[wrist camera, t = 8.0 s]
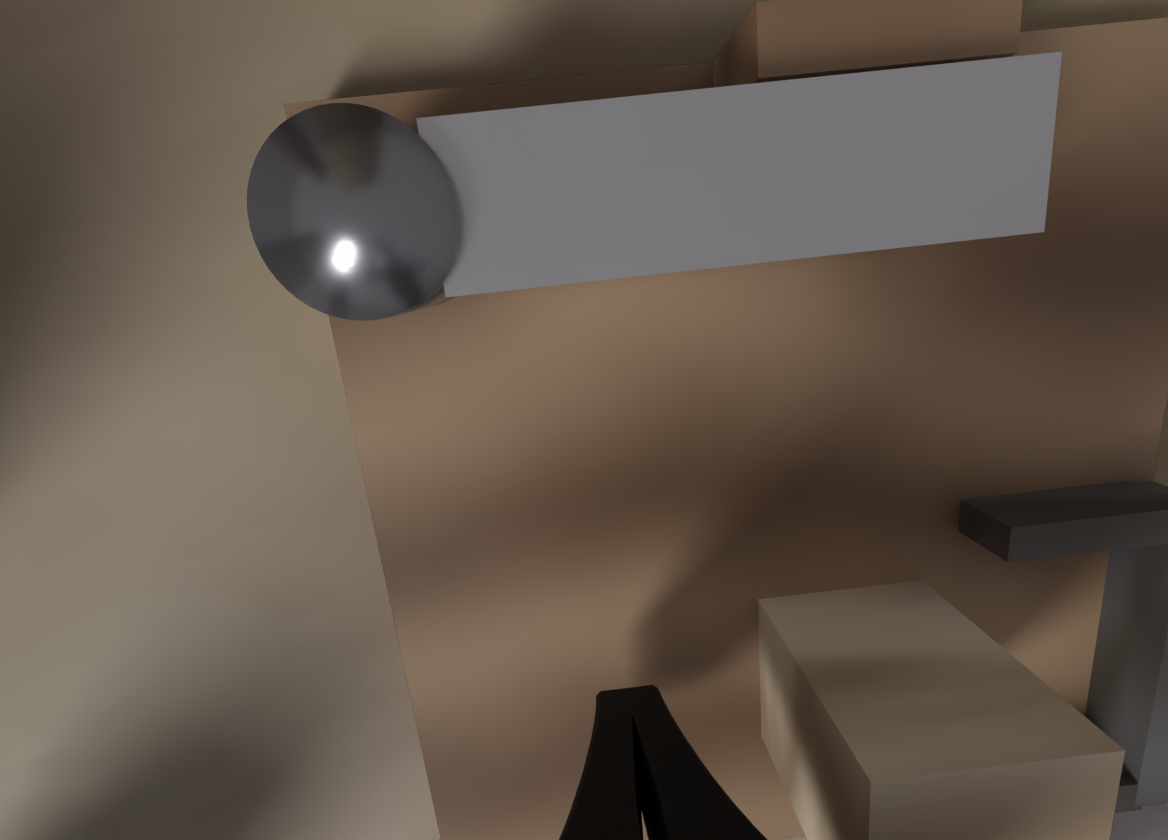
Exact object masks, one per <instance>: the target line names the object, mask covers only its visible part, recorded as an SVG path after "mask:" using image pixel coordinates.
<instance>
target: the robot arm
mask: <svg viewBox="0 0 1168 840" xmlns="http://www.w3.org/2000/svg"><path fill="white" fill-rule="evenodd" d="M641 810H642V811H641ZM642 815H643V819H644V823H645V827H646V832H647V836H648V840H767V839H766V837H765V836H764V835H763V834H762V833H761V832H760V831H759V830H758V829H757V828H756V827H755V826H754V825H753V824H752V823H751V821H750V820H749V819H748V818H747V817H746V816H745V815H744V814H743V813H742V812H741V810H740V809H739V808H738V807H737V806H736V805H735V803H734V802H733V801H732V800H731V799H730V797H729V796H728V795H727V794H726V792H725V791H724V790H723V789H722V787H721V786H720V785H719V784H718V782H717V781H716V780H715V778H714V777H713V776H712V775H711V773H710V772H709V771H708V769H707V768H706V767H705V765H704V764H703V762H702V761H701V760H700V758H699V757H698V755H697V754H696V752H695V751H694V749H693V748H692V747H691V745H690V744H689V742H688V741H687V739H686V738H685V736H684V735H683V733H682V731H681V730H680V728H679V727H678V725H677V723H676V722H675V720H674V718H673V717H672V715H671V713H670V711H669V710H668V708H667V706H666V704H665V702H664V700H663V698H662V696H661V694H660V691H659V689H658V688H657V687H656V686H654V685H646V686H638V687H630V688H622V689H614V690H606V691H600V692H599V693H598V694H597V695H596V711H595V719H594V726H593V731H592V736H591V741H590V745H589V749H588V753H587V757H586V761H585V765H584V769H583V773H582V776H581V779H580V782H579V785H578V788H577V792H576V795H575V798H574V801H573V804H572V807H571V810H570V813H569V815H568V818H567V821H566V823H565V826H564V828H563V831H562V834H561V836H560V838H559V840H643V826H642Z"/></svg>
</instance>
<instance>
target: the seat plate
mask: <svg viewBox="0 0 1168 840" xmlns="http://www.w3.org/2000/svg"><path fill="white" fill-rule="evenodd" d="M1022 6H1023V0H769V1H759V2H756V3H755V5H754V6H753V8H752V9H751V10H750V12H749V13H748V14H747V16H746V17H745V18H744V20H743V21H742V23H741V24H740V25H739V27H738V28H737V29H736V31H735V32H734V34H733V35H732V36H731V38H730V39H729V40H728V42H727V43H726V44H725V46H724V47H723V49H722V50H721V51H720V53H719V54H718V55H717V57H716V58H715V60H714V61H713V62H707V63H697V64H686V65H676V66H666V67H656V68H645V69H635V70H625V71H615V72H605V73H594V74H584V75H574V76H564V77H553V78H543V79H533V80H523V81H513V82H502V83H492V84H482V85H472V86H461V87H451V88H441V89H431V90H420V91H410V92H400V93H390V94H380V95H369V96H359V97H349V98H339V99H328V100H318V101H308V102H298V103H288V104H284V108H285V113H286V117H287V119H289V118H290V117H291V116H293V115H295V114H297V113H299V112H301V111H303V110H305V109H308V108H311V107H314V106H318V105H323V104H329V103H353V104H360V105H364V106H368V107H372V108H375V109H378V110H380V111H383V112H385V113H388V114H390V115H391V116H393V117H395V118H397V119H399V120H400V121H402V122H403V123H404V124H406V125H407V126H409V127H410V128H411V129H413V130H414V131H415V132H416V133H417V134H418V135H419V132H418V126H417V119H416V118H424V117H434V116H443V115H453V114H463V113H472V112H482V111H492V110H502V109H511V108H521V107H531V106H540V105H550V104H560V103H569V102H579V101H589V100H598V99H608V98H618V97H627V96H637V95H647V94H656V93H666V92H676V91H686V90H695V89H705V88H715V87H724V86H734V85H744V84H753V83H763V82H773V81H782V80H792V79H802V78H811V77H821V76H831V75H840V74H850V73H860V72H870V71H879V70H889V69H899V68H908V67H918V66H928V65H937V64H947V63H957V62H966V61H976V60H986V59H995V58H1005V57H1015V56H1025V55H1034V54H1044V53H1054V52H1062V57H1061V68H1060V78H1059V88H1058V98H1057V108H1056V118H1055V129H1054V139H1053V149H1052V159H1051V169H1050V179H1049V190H1048V200H1047V210H1046V220H1045V230H1044V232H1040V233H1031V234H1022V235H1012V236H1003V237H994V238H985V239H976V240H967V241H958V242H948V243H939V244H930V245H921V246H912V247H903V248H893V249H884V250H875V251H866V252H857V253H848V254H839V255H829V256H820V257H811V258H802V259H793V260H784V261H774V262H765V263H756V264H747V265H738V266H729V267H719V268H710V269H701V270H692V271H683V272H674V273H665V274H655V275H646V276H637V277H628V278H619V279H610V280H600V281H591V282H582V283H573V284H564V285H555V286H546V287H536V288H527V289H518V290H509V291H500V292H491V293H481V294H472V295H463V296H456V297H455V298H453V299H451V300H449V301H447V302H445V303H442V304H439V305H436V306H432V307H428V308H424V309H420V310H416V311H412V312H408V313H404V314H400V315H396V316H392V317H388V318H383V319H378V320H366V321H359V320H348V319H343V318H338V317H334V316H331V315H329V318H330V323H331V328H332V332H333V337H334V342H335V346H336V351H337V356H338V361H339V365H340V370H341V375H342V379H343V384H344V389H345V393H346V398H347V403H348V407H349V412H350V417H351V421H352V426H353V431H354V435H355V440H356V445H357V449H358V454H359V459H360V463H361V468H362V473H363V477H364V482H365V487H366V491H367V496H368V501H369V506H370V510H371V515H372V520H373V524H374V529H375V534H376V538H377V543H378V548H379V552H380V557H381V562H382V566H383V571H384V576H385V580H386V585H387V590H388V594H389V599H390V604H391V608H392V613H393V618H394V622H395V627H396V632H397V637H398V641H399V646H400V651H401V655H402V660H403V665H404V669H405V674H406V679H407V683H408V688H409V693H410V697H411V702H412V707H413V711H414V716H415V721H416V725H417V730H418V735H419V739H420V744H421V749H422V753H423V758H424V763H425V768H426V772H427V777H428V782H429V786H430V791H431V796H432V800H433V805H434V810H435V814H436V819H437V824H438V828H439V833H440V838H441V840H559V838H560V836H561V834H562V831H563V828H564V826H565V823H566V821H567V818H568V815H569V813H570V810H571V807H572V804H573V801H574V798H575V795H576V792H577V788H578V785H579V782H580V779H581V776H582V773H583V769H584V765H585V761H586V757H587V753H588V749H589V745H590V741H591V736H592V731H593V726H594V719H595V711H596V695H597V694H598V693H599V692H600V691H606V690H614V689H622V688H630V687H638V686H646V685H654V686H656V687H657V688H658V689H659V691H660V694H661V696H662V698H663V700H664V702H665V704H666V706H667V708H668V710H669V711H670V713H671V715H672V717H673V718H674V720H675V722H676V723H677V725H678V727H679V728H680V730H681V731H682V733H683V735H684V736H685V738H686V739H687V741H688V742H689V744H690V745H691V747H692V748H693V749H694V751H695V752H696V754H697V755H698V757H699V758H700V760H701V761H702V762H703V764H704V765H705V767H706V768H707V769H708V771H709V772H710V773H711V775H712V776H713V777H714V778H715V780H716V781H717V782H718V784H719V785H720V786H721V787H722V789H723V790H724V791H725V792H726V794H727V795H728V796H729V797H730V799H731V800H732V801H733V802H734V803H735V805H736V806H737V807H738V808H739V809H740V810H741V812H742V813H743V814H744V815H745V816H746V817H747V818H748V819H749V820H750V821H751V823H752V824H753V825H754V826H755V827H756V828H757V829H758V830H759V831H760V832H761V833H762V834H763V835H764V836H765V837H766V839H767V840H779V839H787V838H795V837H803V836H805V834H804V831H803V829H802V827H801V825H800V822H799V820H798V818H797V816H796V813H795V811H794V809H793V807H792V804H791V802H790V800H789V797H788V795H787V793H786V791H785V788H784V786H783V784H782V782H781V779H780V777H779V775H778V773H777V770H776V768H775V766H774V764H773V761H772V759H771V757H770V755H769V752H768V750H767V748H766V746H765V743H764V741H763V739H762V737H761V698H760V658H759V619H758V599H766V598H775V597H783V596H792V595H800V594H809V593H818V592H826V591H835V590H843V589H852V588H860V587H869V586H878V585H886V584H895V583H903V582H912V581H920V580H922V581H924V582H925V583H926V584H927V585H928V586H930V587H931V588H932V589H933V590H934V591H936V592H937V593H938V594H939V595H940V596H942V597H943V598H944V599H945V600H946V601H948V602H949V603H950V604H951V605H952V606H953V607H955V608H956V609H957V610H958V611H959V612H961V613H962V614H963V615H964V616H965V617H967V618H968V619H969V620H970V621H971V622H973V623H974V624H975V625H976V626H977V627H979V628H980V629H981V630H982V631H983V632H985V633H986V634H987V635H988V636H989V637H991V638H992V639H993V640H994V641H995V642H997V643H998V644H999V645H1000V646H1001V647H1002V648H1004V649H1005V650H1006V651H1007V652H1008V653H1010V654H1011V655H1012V656H1013V657H1014V658H1016V659H1017V660H1018V661H1019V662H1020V663H1022V664H1023V665H1024V666H1025V667H1026V668H1028V669H1029V670H1030V671H1031V672H1032V673H1034V674H1035V675H1036V676H1037V677H1038V678H1040V679H1041V680H1042V681H1043V682H1044V683H1046V684H1047V685H1048V686H1049V687H1050V688H1051V689H1053V690H1054V691H1055V692H1056V693H1057V694H1059V695H1060V696H1061V697H1062V698H1063V699H1065V700H1066V701H1067V702H1068V703H1069V704H1071V705H1072V706H1073V707H1074V708H1075V709H1077V710H1078V711H1079V712H1080V713H1081V714H1083V715H1084V716H1085V717H1086V718H1087V719H1089V720H1090V721H1091V722H1092V723H1093V724H1095V725H1096V726H1097V727H1098V728H1099V729H1100V730H1102V731H1103V732H1104V733H1105V734H1106V735H1108V736H1109V737H1110V738H1111V739H1112V740H1114V741H1115V742H1116V743H1117V744H1118V745H1120V746H1121V747H1122V748H1123V749H1124V750H1125V755H1124V761H1123V766H1122V772H1121V778H1120V783H1119V789H1118V795H1117V800H1116V806H1115V812H1114V813H1116V812H1124V811H1132V810H1140V809H1142V806H1146V805H1154V804H1162V803H1166V802H1167V797H1168V487H1167V486H1164V485H1161V484H1159V483H1156V482H1153V479H1154V473H1155V467H1156V461H1157V455H1158V449H1159V443H1160V437H1161V431H1162V425H1163V419H1164V413H1165V407H1166V401H1167V395H1168V17H1167V18H1157V19H1147V20H1136V21H1126V22H1116V23H1106V24H1096V25H1085V26H1075V27H1065V28H1055V29H1044V30H1034V31H1024V32H1020V30H1021V18H1022ZM641 811H642V810H641ZM642 826H643V840H648V836H647V832H646V827H645V823H644V819H643V815H642Z"/></svg>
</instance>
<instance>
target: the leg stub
mask: <svg viewBox="0 0 1168 840" xmlns="http://www.w3.org/2000/svg"><path fill="white" fill-rule="evenodd" d="M758 619H759V658H760V698H761V737H762V739H763V741H764V743H765V746H766V748H767V750H768V752H769V755H770V757H771V759H772V761H773V764H774V766H775V768H776V770H777V773H778V775H779V777H780V779H781V782H782V784H783V786H784V788H785V791H786V793H787V795H788V797H789V800H790V802H791V804H792V807H793V809H794V811H795V813H796V816H797V818H798V820H799V822H800V825H801V827H802V829H803V831H804V834H805V836H806V838H807V840H1110V834H1111V829H1112V823H1113V817H1114V812H1115V806H1116V800H1117V795H1118V789H1119V783H1120V778H1121V772H1122V766H1123V761H1124V755H1125V750H1124V749H1123V748H1122V747H1121V746H1120V745H1118V744H1117V743H1116V742H1115V741H1114V740H1112V739H1111V738H1110V737H1109V736H1108V735H1106V734H1105V733H1104V732H1103V731H1102V730H1100V729H1099V728H1098V727H1097V726H1096V725H1095V724H1093V723H1092V722H1091V721H1090V720H1089V719H1087V718H1086V717H1085V716H1084V715H1083V714H1081V713H1080V712H1079V711H1078V710H1077V709H1075V708H1074V707H1073V706H1072V705H1071V704H1069V703H1068V702H1067V701H1066V700H1065V699H1063V698H1062V697H1061V696H1060V695H1059V694H1057V693H1056V692H1055V691H1054V690H1053V689H1051V688H1050V687H1049V686H1048V685H1047V684H1046V683H1044V682H1043V681H1042V680H1041V679H1040V678H1038V677H1037V676H1036V675H1035V674H1034V673H1032V672H1031V671H1030V670H1029V669H1028V668H1026V667H1025V666H1024V665H1023V664H1022V663H1020V662H1019V661H1018V660H1017V659H1016V658H1014V657H1013V656H1012V655H1011V654H1010V653H1008V652H1007V651H1006V650H1005V649H1004V648H1002V647H1001V646H1000V645H999V644H998V643H997V642H995V641H994V640H993V639H992V638H991V637H989V636H988V635H987V634H986V633H985V632H983V631H982V630H981V629H980V628H979V627H977V626H976V625H975V624H974V623H973V622H971V621H970V620H969V619H968V618H967V617H965V616H964V615H963V614H962V613H961V612H959V611H958V610H957V609H956V608H955V607H953V606H952V605H951V604H950V603H949V602H948V601H946V600H945V599H944V598H943V597H942V596H940V595H939V594H938V593H937V592H936V591H934V590H933V589H932V588H931V587H930V586H928V585H927V584H926V583H925V582H924V581H922V580H920V581H912V582H903V583H895V584H886V585H878V586H869V587H860V588H852V589H843V590H835V591H826V592H818V593H809V594H800V595H792V596H783V597H775V598H766V599H758Z"/></svg>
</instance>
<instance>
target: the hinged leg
mask: <svg viewBox="0 0 1168 840" xmlns="http://www.w3.org/2000/svg"><path fill="white" fill-rule="evenodd" d="M1061 57H1062V52H1054V53H1044V54H1034V55H1025V56H1015V57H1005V58H995V59H986V60H976V61H966V62H957V63H947V64H937V65H928V66H918V67H908V68H899V69H889V70H879V71H870V72H860V73H850V74H840V75H831V76H821V77H811V78H802V79H792V80H782V81H773V82H763V83H753V84H744V85H734V86H724V87H715V88H705V89H695V90H686V91H676V92H666V93H656V94H647V95H637V96H627V97H618V98H608V99H598V100H589V101H579V102H569V103H560V104H550V105H540V106H531V107H521V108H511V109H502V110H492V111H482V112H472V113H463V114H453V115H443V116H434V117H424V118H416V119H417V126H418V132H419V135H418V134H417V133H416V132H415V131H414V130H413V129H411V128H410V127H409V126H407V125H406V124H404V123H403V122H402V121H400V120H399V119H397V118H395V117H393V116H391V115H390V114H388V113H385V112H383V111H380V110H378V109H375V108H372V107H368V106H364V105H360V104H353V103H329V104H323V105H318V106H314V107H311V108H308V109H305V110H303V111H301V112H299V113H297V114H295V115H293V116H291V117H290V118H289V119H287V120H286V121H285V122H283V123H282V124H280V125H279V126H278V127H277V128H276V129H275V130H274V131H273V132H272V133H271V134H270V136H269V137H268V138H267V140H266V141H265V142H264V144H263V145H262V147H261V149H260V151H259V153H258V154H257V156H256V158H255V161H254V164H253V167H252V169H251V173H250V178H249V183H248V192H247V209H248V218H249V223H250V228H251V232H252V235H253V238H254V241H255V244H256V246H257V248H258V250H259V253H260V255H261V257H262V258H263V260H264V262H265V263H266V265H267V267H268V268H269V270H270V271H271V272H272V273H273V275H274V276H275V277H276V279H277V280H278V281H279V282H280V283H281V284H282V285H283V286H284V287H285V288H286V289H287V290H288V291H289V292H290V293H292V294H293V295H294V296H295V297H296V298H298V299H299V300H301V301H302V302H304V303H305V304H307V305H308V306H310V307H312V308H314V309H316V310H318V311H320V312H323V313H326V314H328V315H331V316H334V317H338V318H343V319H348V320H359V321H366V320H378V319H383V318H388V317H392V316H396V315H400V314H404V313H408V312H412V311H416V310H420V309H424V308H428V307H432V306H436V305H439V304H442V303H445V302H447V301H449V300H451V299H453V298H455V297H456V296H463V295H472V294H481V293H491V292H500V291H509V290H518V289H527V288H536V287H546V286H555V285H564V284H573V283H582V282H591V281H600V280H610V279H619V278H628V277H637V276H646V275H655V274H665V273H674V272H683V271H692V270H701V269H710V268H719V267H729V266H738V265H747V264H756V263H765V262H774V261H784V260H793V259H802V258H811V257H820V256H829V255H839V254H848V253H857V252H866V251H875V250H884V249H893V248H903V247H912V246H921V245H930V244H939V243H948V242H958V241H967V240H976V239H985V238H994V237H1003V236H1012V235H1022V234H1031V233H1040V232H1044V230H1045V220H1046V210H1047V200H1048V190H1049V179H1050V169H1051V159H1052V149H1053V139H1054V129H1055V118H1056V108H1057V98H1058V88H1059V78H1060V68H1061Z"/></svg>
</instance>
